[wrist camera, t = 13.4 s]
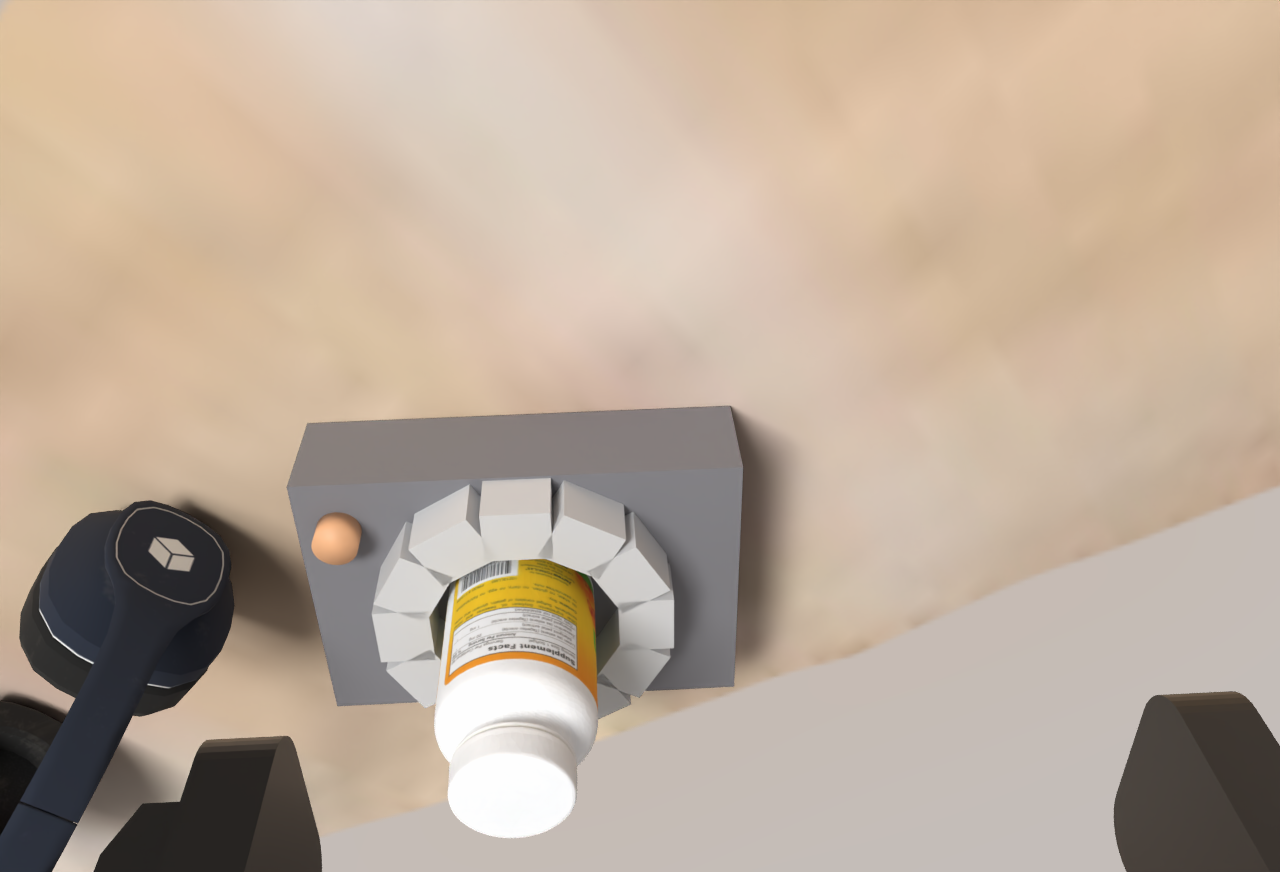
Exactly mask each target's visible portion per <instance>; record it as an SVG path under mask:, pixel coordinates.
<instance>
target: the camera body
mask: <svg viewBox="0 0 1280 872" xmlns="http://www.w3.org/2000/svg"><path fill="white" fill-rule="evenodd" d="M742 483H743V464H742V459H741V455H740V450H739V445H738V441H737V436H736V431H735V426H734V422H733V417H732V412H731V408H730V406H717V407H693V408H669V409H645V410H621V411H596V412H572V413H548V414H524V415H500V416H476V417H451V418H427V419H403V420H379V421H355V422H331V423H307V426H306V430H305V433H304V436H303V439H302V442H301V445H300V448H299V451H298V454H297V457H296V460H295V463H294V466H293V469H292V472H291V475H290V479H289V482H288V485H287V490H288V495H289V499H290V503H291V508H292V512H293V516H294V521H295V525H296V529H297V534H298V538H299V542H300V547H301V551H302V555H303V560H304V564H305V568H306V573H307V577H308V581H309V586H310V590H311V594H312V598H313V603H314V607H315V611H316V616H317V620H318V624H319V629H320V633H321V637H322V642H323V646H324V650H325V655H326V659H327V663H328V668H329V672H330V676H331V681H332V685H333V689H334V694H335V698H336V702H337V706H351V705H371V704H392V703H412V702H419V703H420V704H421V705H422V706H423V707H424V708H427V707H429V706H432V705H434V704H436V696H437V689H438V681H439V672H440V664H441V656H442V647H443V639H444V630H445V621H446V613H447V604H448V597H449V590H450V584H451V582H453V581H455V580H457V579H459V578H461V577H463V576H465V575H467V574H468V573H470V572H472V571H474V570H476V569H478V568H480V567H482V566H484V565H486V564H488V563H490V562H492V561H507V560H529V559H547V560H550V561H552V562H555V563H558V564H560V565H563V566H566V567H568V568H571V569H573V570H576V571H579V572H581V573H584V574H586V575H589V576H590V577H591V581H592V584H593V590H594V601H595V631H596V663H597V698H598V719H600V718H602V717H604V716H606V715H609V714H611V713H613V712H615V711H617V710H620V709H622V708H624V707H626V706H628V705H631V700H630V695H633V696H636V697H639V698H640V696H641V695H642V694H643V693H644V691H654V690H674V689H694V688H714V687H734V674H735V650H736V626H737V602H738V579H739V555H740V531H741V507H742Z"/></svg>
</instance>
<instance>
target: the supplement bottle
mask: <svg viewBox="0 0 1280 872" xmlns="http://www.w3.org/2000/svg"><path fill="white" fill-rule="evenodd" d="M597 727H598V698H597V663H596V631H595V601H594V590H593V584H592V581H591V577H590V576H589V575H586V574H584V573H581V572H579V571H576V570H573V569H571V568H568V567H566V566H563V565H560V564H558V563H555V562H552V561H550V560H547V559H529V560H507V561H492V562H490V563H488V564H486V565H484V566H482V567H480V568H478V569H476V570H474V571H472V572H470V573H468V574H467V575H465V576H463V577H461V578H459V579H457V580H455V581H453V582H451V584H450V590H449V597H448V604H447V613H446V621H445V630H444V639H443V647H442V656H441V664H440V672H439V681H438V689H437V696H436V705H435V720H434V728H435V736H436V740H437V743H438V746H439V748H440V750H441V752H442V753H443V755H444V757H445V758H446V759H447V761H448V762H449V763H450V766H449V785H448V800H449V804H450V807H451V809H452V811H453V813H454V814H455V816H456V817H457V818H458V819H459V820H460V821H461V822H462V823H463V824H465V825H466V826H468V827H470V828H471V829H473V830H475V831H478V832H480V833H483V834H486V835H490V836H494V837H500V838H522V837H528V836H533V835H537V834H541V833H543V832H546V831H548V830H550V829H552V828H554V827H555V826H557V825H558V824H560V823H561V822H562V821H564V820H565V819H566V818H567V817H568V815H569V814H570V813H571V811H572V809H573V808H574V805H575V802H576V797H577V766H578V765H579V764H580V763H581V762H582V761H583V760H584V759H585V757H586V756H587V755H588V753H589V752H590V750H591V748H592V746H593V744H594V741H595V738H596V734H597Z"/></svg>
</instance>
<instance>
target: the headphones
mask: <svg viewBox="0 0 1280 872" xmlns="http://www.w3.org/2000/svg"><path fill="white" fill-rule="evenodd" d="M230 570H231V560H230V552H229V549H228V547H227V546H226V544H225V543H224V541H223V539H222V538H221V536H220V535H218V534H217V533H216V532H215V531H213V530H212V529H211V528H210V527H208V526H207V525H206V524H204V523H202V522H201V521H199V520H197V519H195V518H194V517H192V516H190V515H188V514H186V513H184V512H182V511H180V510H177V509H175V508H173V507H171V506H168V505H165V504H162V503H158V502H154V501H151V500H149V501H141V502H134V503H133V504H131V505H130V506H129V507H127V508H126V509H125V510H123V511H119V510H115V511H106V512H98V513H91V514H89V515H88V516H86V517H85V518H84V519H82V520H81V521H79V522H78V523H77V524H75V525H74V526H72V528H71V529H70V530H69V532H68V533H67V535H66V536H65V538H64V539H63V540H62V542H61V543H60V545H59V546H58V547H57V548H56V549H55V550H54V552H53V553H52V555H51V556H50V558H49V559H48V560H47V562H46V563H45V565H44V566H43V568H42V569H41V571H40V573H39V575H38V577H37V579H36V580H35V582H34V584H33V586H32V588H31V590H30V592H29V594H28V597H27V599H26V602H25V604H24V607H23V609H22V611H21V619H20V637H19V638H20V642H21V647H22V649H23V651H24V652H25V654H26V656H27V658H28V660H29V662H30V664H31V666H32V668H33V670H34V671H35V672H36V673H37V674H39V675H40V676H41V677H43V678H44V679H45V680H46V681H48V682H49V683H50V684H52V685H53V686H54V687H55V688H57V689H59V690H61V691H63V692H65V693H67V694H69V695H71V696H73V697H75V698H76V699H75V701H74V703H73V704H72V706H71V708H70V710H69V712H68V714H67V716H66V718H65V720H64V721H63V723H60V722H59V721H57V720H55V719H53V718H51V717H49V716H47V715H45V714H43V713H41V712H39V711H37V710H34V709H31V708H28V707H25V706H22V705H19V704H16V703H13V702H5V701H0V872H52V870H53V869H54V867H55V865H56V863H57V861H58V859H59V858H60V856H61V854H62V852H63V850H64V848H65V847H66V845H67V843H68V841H69V839H70V837H71V835H72V833H73V832H74V830H75V828H76V826H77V824H75V823H73V822H76V823H78V822H79V820H80V818H81V817H82V815H83V813H84V811H85V809H86V807H87V805H88V803H89V801H90V799H91V798H92V796H93V794H94V792H95V790H96V788H97V786H98V784H99V782H100V780H101V778H102V777H103V775H104V773H105V771H106V769H107V767H108V765H109V763H110V761H111V759H112V757H113V755H114V753H115V751H116V749H117V747H118V745H119V743H120V741H121V739H122V737H123V734H124V732H125V730H126V728H127V726H128V724H129V722H130V720H131V718H132V716H145V715H149V714H152V713H155V712H158V711H161V710H164V709H168V708H171V707H174V706H175V705H176V704H177V703H178V702H179V701H180V700H181V699H182V698H183V696H184V695H185V694H186V693H187V692H188V691H189V690H190V689H191V688H192V687H193V686H194V685H195V684H196V682H197V681H198V680H199V679H200V678H201V677H202V676H203V675H204V673H205V672H206V671H207V669H208V667H209V665H210V664H211V663H212V662H213V661H214V659H215V658H216V657H217V655H218V654H219V653H220V652H221V650H222V648H223V645H224V643H225V640H226V638H227V636H228V633H229V631H230V628H231V623H232V617H233V611H234V598H233V590H232V583H231V581H230V579H229V575H230Z"/></svg>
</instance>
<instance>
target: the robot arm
mask: <svg viewBox="0 0 1280 872" xmlns="http://www.w3.org/2000/svg"><path fill="white" fill-rule="evenodd" d="M1114 827H1115V835H1116V840H1117V845H1118V849H1119V853H1120V856H1121V859H1122V862H1123V864H1124V867H1125V869H1126V871H1127V872H1280V746H1279V744H1278V742H1277V741H1276V739H1275V738H1274V737H1273V735H1272V733H1271V731H1270V730H1269V729H1268V727H1267V725H1266V724H1265V722H1264V721H1263V719H1262V717H1261V716H1260V714H1259V713H1258V711H1257V710H1256V708H1255V707H1254V706H1253V704H1252V703H1251V702H1250V701H1249V700H1248V699H1247V698H1246V697H1245V696H1243V695H1242V694H1240V693H1237V692H1232V691H1230V692H1213V693H1212V692H1211V693H1190V694H1170V695H1156V696H1154V697H1152V698H1151V699H1150V700H1149V701H1148V703H1147V704H1146V706H1145V709H1144V712H1143V715H1142V718H1141V721H1140V724H1139V727H1138V730H1137V733H1136V736H1135V739H1134V743H1133V745H1132V748H1131V751H1130V754H1129V758H1128V760H1127V764H1126V767H1125V770H1124V773H1123V776H1122V779H1121V782H1120V785H1119V788H1118V791H1117V794H1116V798H1115V804H1114ZM321 857H322V856H321V845H320V839H319V834H318V830H317V827H316V823H315V819H314V815H313V812H312V808H311V804H310V801H309V797H308V793H307V789H306V786H305V782H304V778H303V774H302V771H301V767H300V763H299V760H298V756H297V752H296V749H295V746H294V743H293V741H292V739H291V738H290V737H288V736H275V737H256V738H236V739H216V740H206V741H205V742H204V743H202V745H201V746H200V747H199V749H198V751H197V753H196V756H195V758H194V761H193V764H192V767H191V770H190V773H189V776H188V779H187V782H186V785H185V788H184V791H183V794H182V797H181V800H180V802H166V803H147V804H142V805H141V806H140V807H139V809H138V810H137V811H136V812H135V813H134V815H133V816H132V817H131V818H130V819H129V821H128V822H127V823H126V824H125V825H124V827H123V828H122V829H121V830H120V831H119V833H118V834H117V835H116V836H115V837H114V839H113V840H112V841H111V842H110V843H109V845H108V846H107V847H106V848H105V849H104V851H103V852H102V853H101V854H100V856H99V859H98V862H97V864H96V867H95V870H94V872H322V858H321Z"/></svg>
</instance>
